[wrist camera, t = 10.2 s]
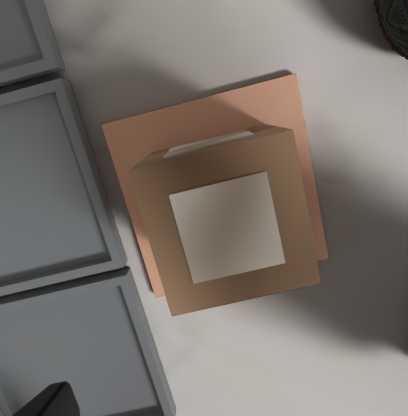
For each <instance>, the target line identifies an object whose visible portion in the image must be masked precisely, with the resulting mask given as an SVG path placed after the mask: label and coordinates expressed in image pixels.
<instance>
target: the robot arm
mask: <svg viewBox="0 0 408 416" xmlns="http://www.w3.org/2000/svg"><path fill="white" fill-rule="evenodd" d="M12 416H80V408H79V405H78V403H77V400H76V397H75V395H74V392H73V390H72V387H71V385H70V383H69V382H67V381H62V382H57V383H53V384H50V385H49V386H47V387H46V388H45V389H44V390H43V391H41V392H40V393H39V394H38V395H37V396H35V397H34V398H33V399H32V400H30V401H29V402H28V403H27V404H26V405H24V406H23V407H22V408H21V409H20V410H18V411H17V412H16V413H15V414H13V415H12Z"/></svg>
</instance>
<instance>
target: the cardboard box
mask: <svg viewBox="0 0 408 416" xmlns="http://www.w3.org/2000/svg"><path fill="white" fill-rule="evenodd" d="M128 174H129V177H130V181H131V184H132V187H133V190H134V194H135V197H136V200H137V204H138V207H139V210H140V214H141V217H142V220H143V223H144V227H145V230H146V233H147V237H148V240H149V243H150V246H151V250H152V253H153V256H154V260H155V263H156V266H157V269H158V273H159V276H160V279H161V283H162V286H163V289H164V293H165V296H166V299H167V302H168V306H169V309H170V312H171V316H176V315H181V314H185V313H190V312H194V311H199V310H203V309H208V308H212V307H217V306H221V305H226V304H230V303H235V302H239V301H244V300H248V299H253V298H257V297H262V296H266V295H271V294H275V293H280V292H284V291H289V290H293V289H298V288H302V287H307V286H311V285H316V284H320V283H321V278H320V273H319V267H318V262H317V256H316V251H315V245H314V240H313V235H312V229H311V224H310V218H309V213H308V207H307V202H306V196H305V191H304V185H303V180H302V175H301V169H300V164H299V158H298V153H297V147H296V142H295V136H294V131H293V129H288V128H283V127H278V126H273V125H268V124H264V125H260V126H256V127H252V128H248V129H244V130H240V131H236V132H232V133H228V134H224V135H220V136H216V137H212V138H208V139H204V140H200V141H196V142H192V143H188V144H184V145H180V146H176V147H173V148H169V149H165V150H161V151H157V152H153V153H151V154H149V155H148V156H147V157H145V158H144V159H143V160H141V161H140V162H139V163H137V164H136V165H135V166H133V167H132V168H131V169H129V170H128Z"/></svg>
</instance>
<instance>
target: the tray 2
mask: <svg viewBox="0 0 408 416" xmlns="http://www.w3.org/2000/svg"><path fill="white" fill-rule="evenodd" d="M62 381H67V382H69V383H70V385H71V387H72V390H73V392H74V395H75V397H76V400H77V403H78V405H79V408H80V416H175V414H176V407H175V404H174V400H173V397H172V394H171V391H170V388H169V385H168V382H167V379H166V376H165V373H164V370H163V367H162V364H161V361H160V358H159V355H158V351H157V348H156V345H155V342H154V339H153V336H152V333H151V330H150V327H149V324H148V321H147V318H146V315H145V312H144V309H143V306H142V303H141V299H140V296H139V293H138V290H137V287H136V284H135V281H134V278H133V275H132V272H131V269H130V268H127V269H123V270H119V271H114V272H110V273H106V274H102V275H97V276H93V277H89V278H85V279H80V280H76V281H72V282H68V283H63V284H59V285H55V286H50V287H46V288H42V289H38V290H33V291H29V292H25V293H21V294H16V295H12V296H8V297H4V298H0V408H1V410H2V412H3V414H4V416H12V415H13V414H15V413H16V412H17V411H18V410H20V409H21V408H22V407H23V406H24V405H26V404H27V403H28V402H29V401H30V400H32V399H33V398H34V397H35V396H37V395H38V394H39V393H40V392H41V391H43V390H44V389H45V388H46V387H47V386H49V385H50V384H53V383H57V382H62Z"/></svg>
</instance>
